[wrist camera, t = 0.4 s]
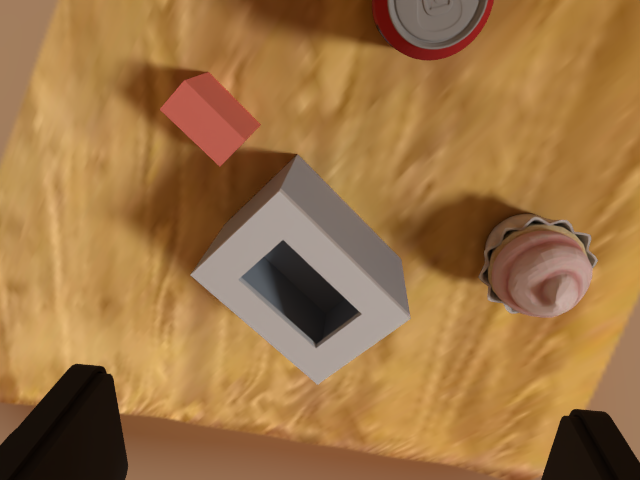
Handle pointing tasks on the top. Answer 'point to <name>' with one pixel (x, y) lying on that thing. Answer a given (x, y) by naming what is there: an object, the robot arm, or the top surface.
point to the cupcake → (537, 265)
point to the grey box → (306, 273)
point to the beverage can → (430, 25)
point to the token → (210, 116)
